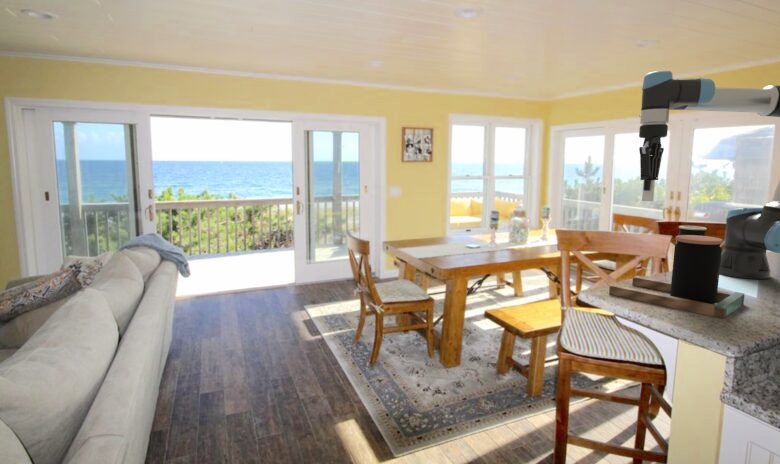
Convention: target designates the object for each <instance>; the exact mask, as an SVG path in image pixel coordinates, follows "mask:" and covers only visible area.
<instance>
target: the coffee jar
mask: <svg viewBox="0 0 780 464" xmlns="http://www.w3.org/2000/svg"><path fill="white" fill-rule="evenodd" d="M677 235H678V234H677ZM677 235H675V241H677V243H676V242H675V245H674V251H673V262H672V273H671V280H670V282H671V292H669V296H673V297H678V298H683V299H688V300H693V301H698V302H703V303H708V304H713V305H715V304H717V303H716V302H717V301H716V299H717V291H719V290H718V289H719V288H718V287H719V280H720V279H719V278H720V273H719V272H720V263H721V254H722V252H723V249H722V247H721V245H722V244H723V243H724V241H723V240H724V239H723V238H720V237H715V236H707V235H705V236H698V235H678V236H677Z"/></svg>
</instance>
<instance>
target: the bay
mask: <svg viewBox="0 0 780 464" xmlns="http://www.w3.org/2000/svg"><path fill="white" fill-rule="evenodd" d="M632 286H636V287H642V288H647V289H653V290H656V289H657V290H658V291H662V292H668V293H670V292H671V281H665V280H661V279H660V280H659V279H654V278H647V277H641V276H636V275H635V276H632ZM608 293H609V295H612V296H617V297H621V298H626V299H630V300H635V301H640V302H644V303H649V304H653V305H659V306H663V307H669V308H673V309H677V310H683V311H685V312H686V311H687V312H692V313H697V314H700V315H706V316H710V317H715V318H719V319H725V318H727V317H728V316H730V314H732V313H733V312H735V311H736V310H738V309H739V308H740V307H742V306H743V305H744V301H745V295H746V294H745V293H743V292H739V291H738V292H737V291H735V292H727V291H722V290H717V299H716V302H718V303H715V304H708V303H703V302H698V301H693V300H688V299H683V298H678V297H673V296H670V295H667V294H663V293H662V294H661V293H656V292H654V291H653V292H652V291H647V290H641V289H637V288H632V287H627V286H622V285H615V284H611V285H609V289H608Z"/></svg>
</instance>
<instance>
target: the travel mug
mask: <svg viewBox="0 0 780 464" xmlns="http://www.w3.org/2000/svg"><path fill="white" fill-rule="evenodd" d="M678 229H679V232H678V234H677V235H676V236H678V235H698V236H706V231H707V229H708V228H707V227H705V226H699V225H678ZM675 241H676V242H675V244H676V243H677V240H675Z"/></svg>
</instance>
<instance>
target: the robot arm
mask: <svg viewBox="0 0 780 464" xmlns="http://www.w3.org/2000/svg"><path fill="white" fill-rule="evenodd" d="M642 82H643V83H642V88H641V90H642V92H641V94H642V96H641V109H640V110H641V111H640V114H639V118H640V119H639V120H640V124H641V125H640V126H639V133H638V134H639V135H638V136H639V138H640V139H643V145H642V146H639V148H638V151H639V157H640V158H639V159H640V160H639V163H640V165H639V166H640V168H639V169H640V181H643V183H642V184H643V185H642V198H641V199H642V200H641V201H642V202H654V195H655V183H656V182H655V181H658V180H659V174H660V169H661V163H662V156H663V153H664V151H665V149H664V147H662V143H661V138H666V137H667V136H668V129H669V126H668V123H669V121H670V111H673V110H674V111H703V112H704V111H705V112H708V111H709V112H732V113H756V114H757V115H758V116H761V117H776V118H780V85H767V86H765V87H763V88H757V87H756V88H752V87H751V88H750V87H722V86H721V87H720V86H719V87H717V86H716V84H715V82H714V79H712V78H702V77H699V78H697V77H695V78H675V77H674V78H673V72H672V71H670V70H657V71H652V72H648V73H646V74H645V75H644V78H643V81H642ZM725 221H726V222H725V231H724V239H723V240H724V241H723V249H722V254H721V263H720V272H719V275H723V276H728V277H734V278H741V279H749V280H751V279H753V280H766V279H767V280H768V279H769V278H771V268H770V263H769V260H768V256H767V251H770V252H771V253H777V254H780V178H779V179H778V182H777V185H776V188H775V190H774V193H773V197H772V200H771V201H770V202H768V203H766V204H764V205H763V206H762V207H740V208H737V207H735V208H730V209H729V210H728V212H727V214H726V218H725Z"/></svg>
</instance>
